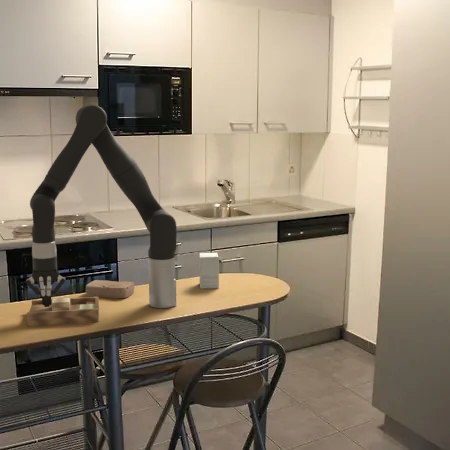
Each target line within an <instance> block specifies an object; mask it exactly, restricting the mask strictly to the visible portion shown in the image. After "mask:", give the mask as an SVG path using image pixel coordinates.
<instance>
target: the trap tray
mask: <svg viewBox="0 0 450 450" xmlns="http://www.w3.org/2000/svg"><path fill="white" fill-rule="evenodd" d="M69 298H70V310H60V311H52V302H51V305H49V307H44V305H43V304H42V299H32V300H31V305H30V309H29V310H28V312H26V321H27V327H34V326H35V327H36V326H53V325H66V324H86V323H97V322H98V323H99V319H100V318H99V317H100V313H99V312H100V311H99V310H100V304H99V303H100V300H99V297H98V296H82V297H69ZM53 299H54V298H51V301H52V300H53Z"/></svg>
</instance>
